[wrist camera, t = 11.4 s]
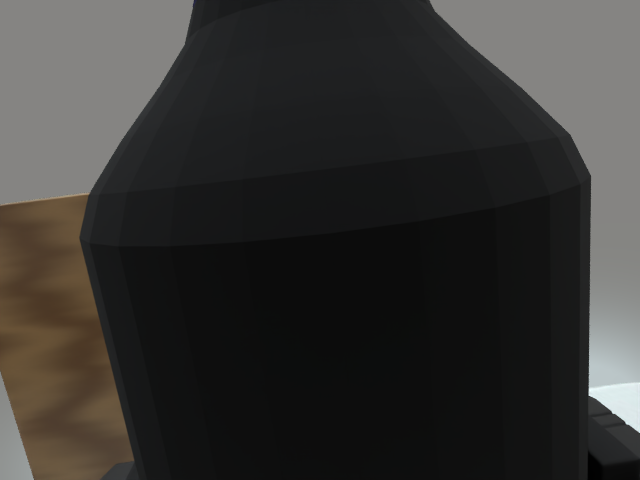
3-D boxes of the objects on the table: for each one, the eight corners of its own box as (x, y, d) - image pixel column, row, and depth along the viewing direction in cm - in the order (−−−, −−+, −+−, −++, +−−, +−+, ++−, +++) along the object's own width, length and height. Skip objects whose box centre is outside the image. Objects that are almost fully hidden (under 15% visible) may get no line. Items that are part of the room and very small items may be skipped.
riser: (68, 591, 27) (-51, 211, 22) (117, 495, 35) (38, 198, 30) (187, 570, 28) (98, 192, 22) (209, 480, 35) (147, 184, 30)
